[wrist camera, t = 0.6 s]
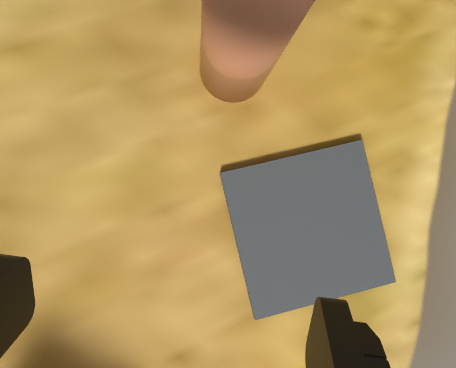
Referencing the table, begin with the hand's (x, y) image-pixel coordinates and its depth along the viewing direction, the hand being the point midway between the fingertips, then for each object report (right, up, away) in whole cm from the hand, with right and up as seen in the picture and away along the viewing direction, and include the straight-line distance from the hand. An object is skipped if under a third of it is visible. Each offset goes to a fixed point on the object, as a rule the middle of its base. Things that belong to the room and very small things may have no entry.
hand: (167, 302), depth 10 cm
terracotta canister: (+2, +13, +20) cm, 24 cm away
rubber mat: (+8, 0, +20) cm, 22 cm away
